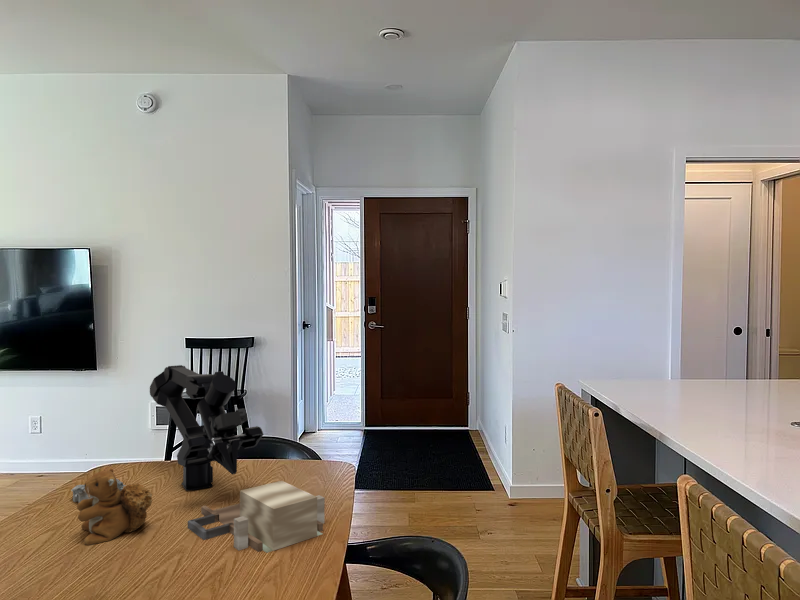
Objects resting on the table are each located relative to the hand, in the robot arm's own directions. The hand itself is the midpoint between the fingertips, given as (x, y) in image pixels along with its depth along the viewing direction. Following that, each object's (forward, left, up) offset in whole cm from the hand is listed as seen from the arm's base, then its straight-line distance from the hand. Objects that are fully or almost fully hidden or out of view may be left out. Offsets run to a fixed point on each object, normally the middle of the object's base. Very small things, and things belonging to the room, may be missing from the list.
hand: (234, 473), depth 132 cm
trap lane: (+2, -12, -8) cm, 14 cm away
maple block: (+3, -19, -8) cm, 21 cm away
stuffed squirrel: (-25, 0, -8) cm, 26 cm away
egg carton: (-26, +25, -9) cm, 37 cm away
